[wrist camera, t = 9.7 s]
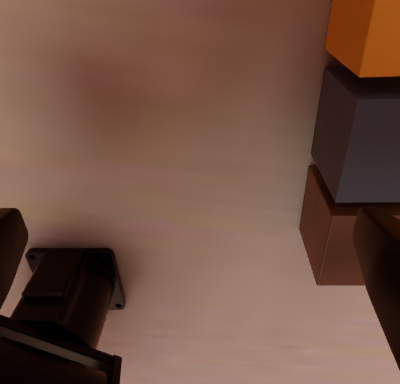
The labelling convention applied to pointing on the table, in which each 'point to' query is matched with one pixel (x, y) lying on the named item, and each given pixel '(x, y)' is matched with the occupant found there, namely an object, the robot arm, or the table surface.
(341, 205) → the walnut block
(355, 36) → the mustard block
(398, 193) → the slate block
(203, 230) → the table surface
